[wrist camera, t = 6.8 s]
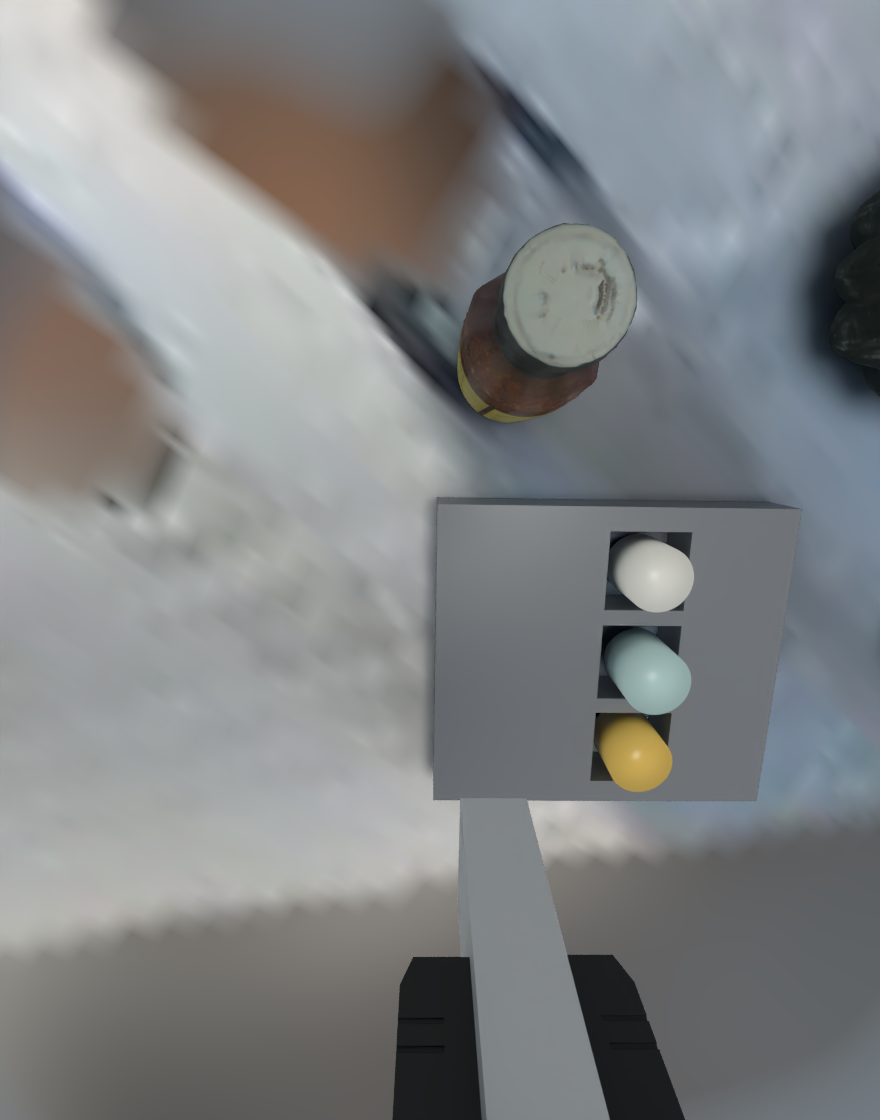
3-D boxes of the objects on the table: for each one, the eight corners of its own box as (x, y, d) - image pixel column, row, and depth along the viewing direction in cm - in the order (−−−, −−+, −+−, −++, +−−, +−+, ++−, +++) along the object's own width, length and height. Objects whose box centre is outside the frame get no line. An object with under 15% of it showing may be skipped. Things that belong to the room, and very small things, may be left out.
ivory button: (603, 593, 38) (622, 612, 34) (608, 533, 37) (628, 545, 33) (663, 593, 38) (690, 612, 34) (669, 534, 37) (697, 546, 33)
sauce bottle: (574, 358, 36) (742, 277, 17) (515, 442, 37) (609, 458, 18) (489, 294, 35) (561, 129, 16) (431, 382, 36) (433, 330, 17)
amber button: (589, 757, 41) (606, 791, 37) (594, 704, 40) (611, 734, 36) (646, 757, 41) (669, 792, 37) (651, 705, 40) (675, 735, 36)
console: (433, 770, 42) (433, 800, 39) (437, 497, 38) (437, 504, 34) (730, 771, 43) (756, 801, 39) (768, 502, 38) (801, 509, 35)
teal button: (601, 685, 38) (620, 714, 34) (606, 628, 37) (626, 651, 33) (661, 685, 38) (687, 715, 34) (667, 628, 37) (695, 652, 33)
